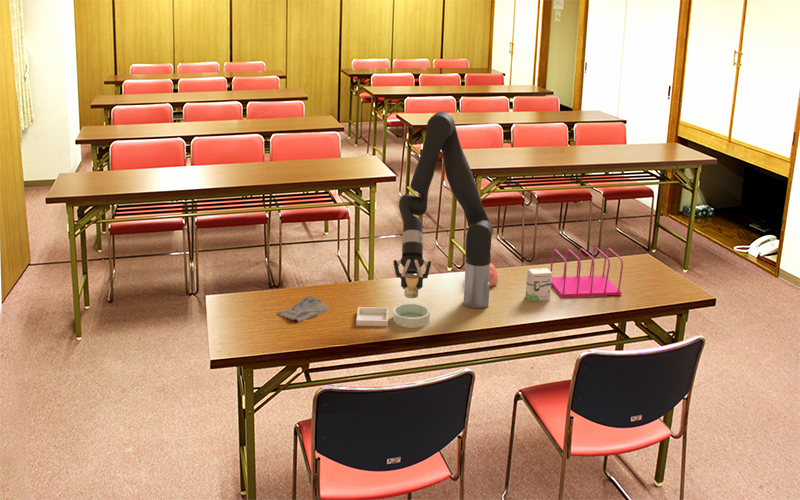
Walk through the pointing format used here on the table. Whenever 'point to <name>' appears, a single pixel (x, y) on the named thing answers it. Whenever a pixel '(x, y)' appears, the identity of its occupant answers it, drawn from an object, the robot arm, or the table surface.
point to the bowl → (411, 315)
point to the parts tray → (372, 316)
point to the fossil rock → (305, 309)
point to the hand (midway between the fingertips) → (411, 288)
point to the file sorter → (585, 279)
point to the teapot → (493, 275)
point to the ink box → (538, 284)
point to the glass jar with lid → (411, 284)
